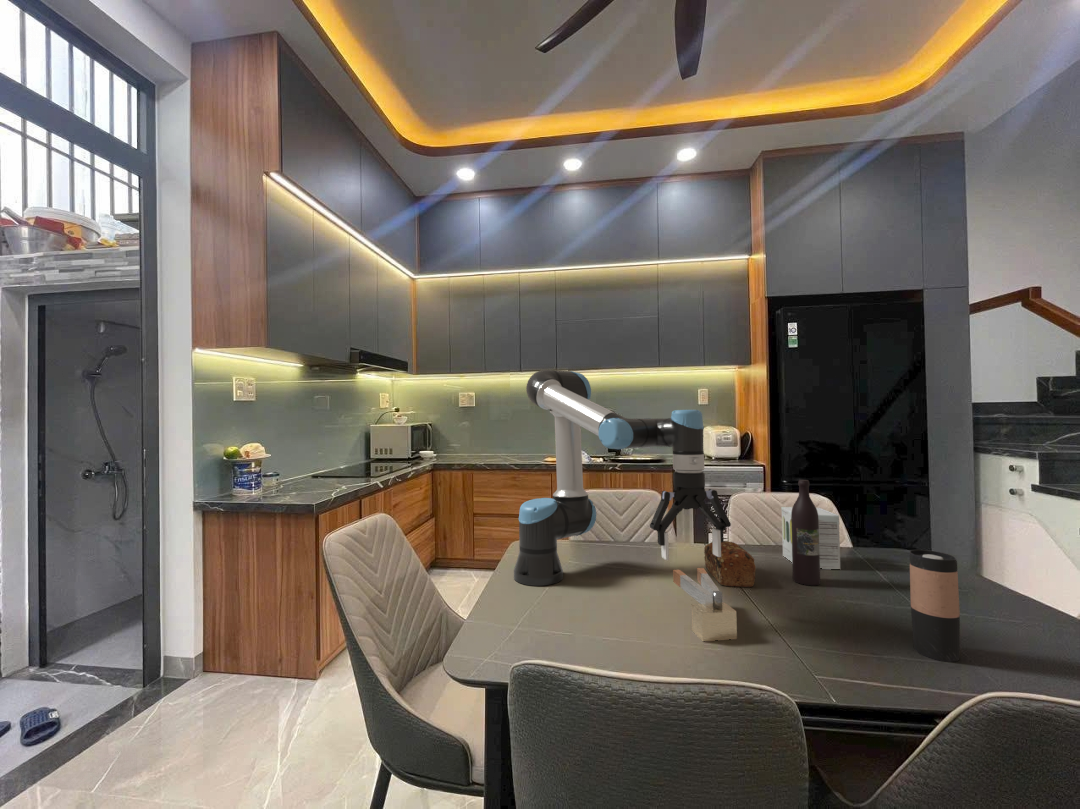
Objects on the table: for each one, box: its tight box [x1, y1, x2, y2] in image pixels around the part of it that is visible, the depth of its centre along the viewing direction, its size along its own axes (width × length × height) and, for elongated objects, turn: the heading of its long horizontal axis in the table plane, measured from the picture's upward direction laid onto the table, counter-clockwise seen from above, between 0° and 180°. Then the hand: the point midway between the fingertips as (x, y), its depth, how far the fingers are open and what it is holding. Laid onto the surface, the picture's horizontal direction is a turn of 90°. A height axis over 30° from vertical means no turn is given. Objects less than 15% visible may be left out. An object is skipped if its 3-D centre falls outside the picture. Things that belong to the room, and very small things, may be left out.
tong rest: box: [672, 569, 738, 642], centre depth 109 cm, size 20×8×9 cm, turn 8°
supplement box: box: [781, 506, 841, 570], centre depth 152 cm, size 13×13×18 cm
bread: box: [703, 540, 757, 588], centre depth 140 cm, size 19×11×10 cm, turn 173°
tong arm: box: [696, 567, 723, 609], centre depth 110 cm, size 18×2×3 cm, turn 173°
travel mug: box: [909, 549, 961, 663], centre depth 94 cm, size 8×8×20 cm
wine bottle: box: [791, 479, 821, 587], centre depth 135 cm, size 7×7×30 cm
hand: (691, 557), depth 113 cm, fingers open, 13 cm apart
